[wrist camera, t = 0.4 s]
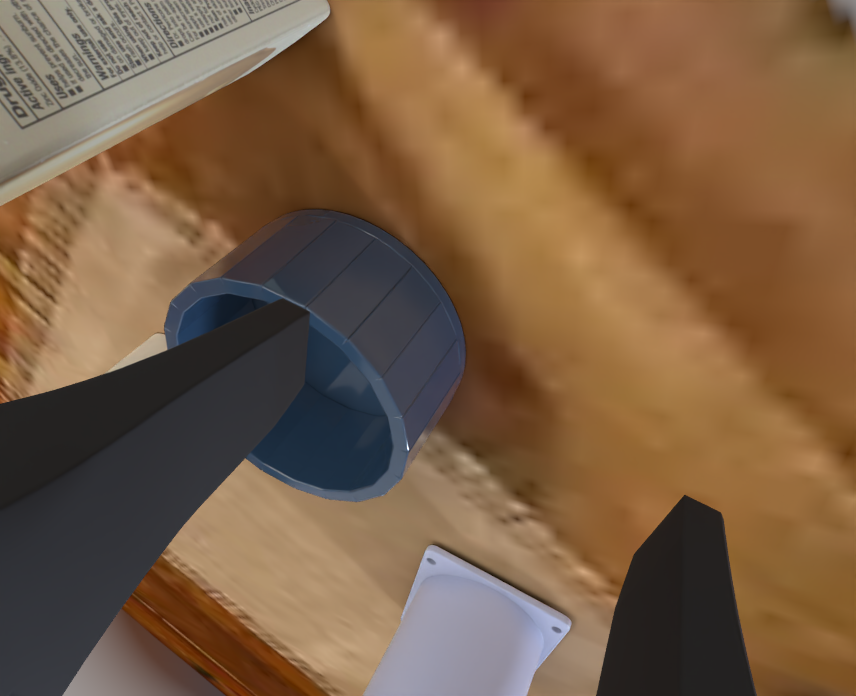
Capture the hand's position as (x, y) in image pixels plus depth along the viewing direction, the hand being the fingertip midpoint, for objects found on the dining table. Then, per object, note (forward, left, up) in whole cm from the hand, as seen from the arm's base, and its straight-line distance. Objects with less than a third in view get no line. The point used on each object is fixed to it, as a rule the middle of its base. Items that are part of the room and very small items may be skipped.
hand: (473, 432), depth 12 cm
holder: (-9, +7, -10) cm, 15 cm away
